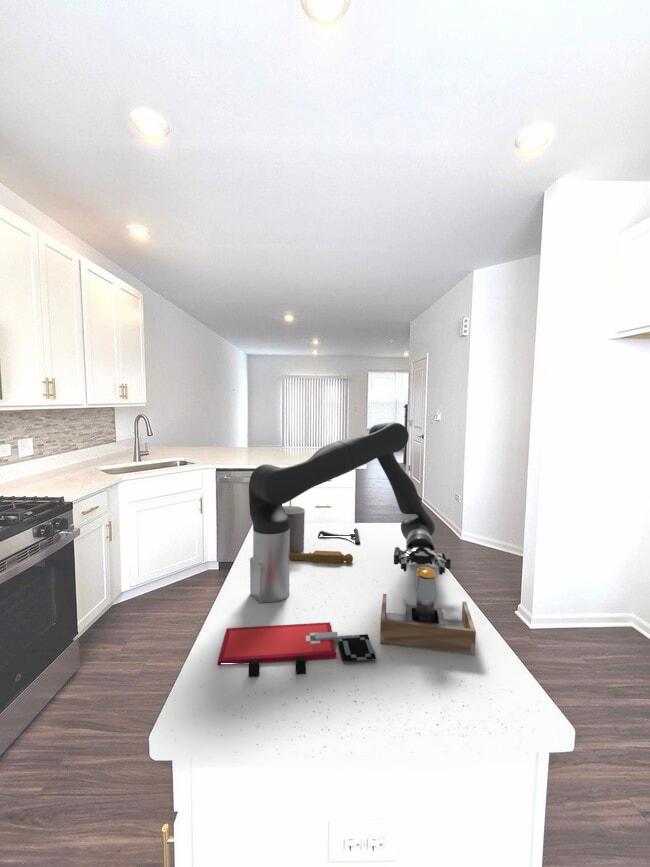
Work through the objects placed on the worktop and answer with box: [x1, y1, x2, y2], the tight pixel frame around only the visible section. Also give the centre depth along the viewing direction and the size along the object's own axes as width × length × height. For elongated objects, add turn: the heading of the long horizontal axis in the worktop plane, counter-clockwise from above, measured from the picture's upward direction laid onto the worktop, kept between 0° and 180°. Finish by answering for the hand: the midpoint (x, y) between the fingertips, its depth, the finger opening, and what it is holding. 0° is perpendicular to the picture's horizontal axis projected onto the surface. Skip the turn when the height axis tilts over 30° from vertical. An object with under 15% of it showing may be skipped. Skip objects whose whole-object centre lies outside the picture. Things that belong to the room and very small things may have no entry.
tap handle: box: [289, 550, 354, 565], centre depth 125 cm, size 3×3×30 cm
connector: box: [415, 566, 437, 623], centre depth 87 cm, size 4×4×13 cm
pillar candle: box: [282, 505, 306, 553], centre depth 133 cm, size 10×10×15 cm
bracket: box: [317, 527, 361, 545], centre depth 146 cm, size 14×15×3 cm
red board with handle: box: [217, 621, 377, 678], centre depth 80 cm, size 30×3×15 cm
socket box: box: [379, 593, 477, 656], centre depth 86 cm, size 12×19×5 cm, turn 79°
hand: (423, 569), depth 97 cm, fingers open, 8 cm apart
